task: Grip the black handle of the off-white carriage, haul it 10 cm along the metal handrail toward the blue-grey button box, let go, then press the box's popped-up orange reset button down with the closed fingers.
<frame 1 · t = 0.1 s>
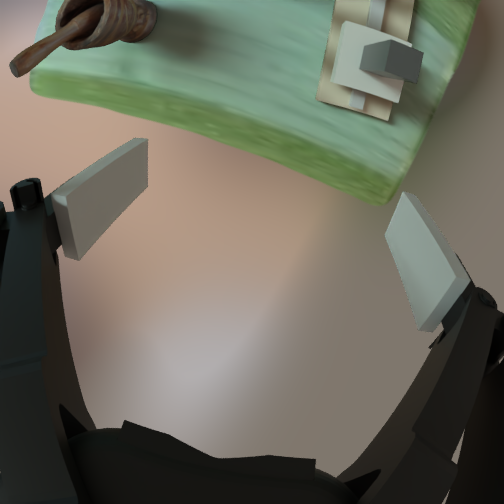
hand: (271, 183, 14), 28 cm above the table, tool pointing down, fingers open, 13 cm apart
rail board: (367, 30, 28), on the table
carriage: (380, 61, 23), point 10 cm above the table, slide at 0.0 cm
mortar and pestle: (130, 30, 31), on the table
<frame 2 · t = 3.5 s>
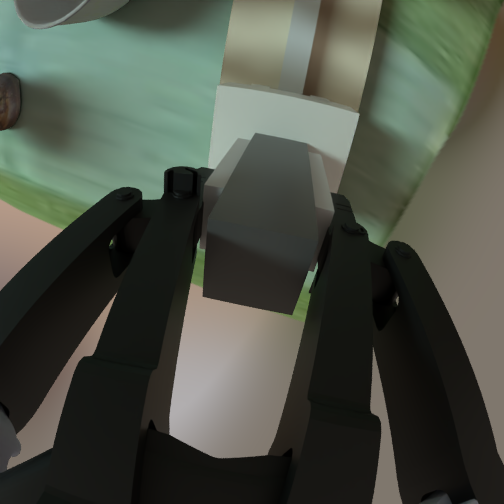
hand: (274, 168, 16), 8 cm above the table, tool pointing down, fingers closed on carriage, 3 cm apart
rail board: (293, 76, 19), on the table
carriage: (272, 179, 14), point 10 cm above the table, slide at 0.0 cm, touching gripper
mortar and pestle: (4, 112, 22), on the table
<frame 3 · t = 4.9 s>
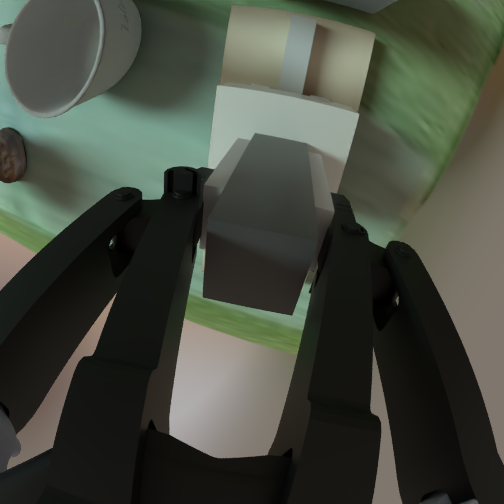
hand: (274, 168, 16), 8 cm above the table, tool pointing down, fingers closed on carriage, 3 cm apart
teacup: (94, 36, 18), on the table
rail board: (276, 158, 23), on the table
carriage: (272, 179, 14), point 10 cm above the table, slide at 7.0 cm, touching gripper
mortar and pestle: (10, 164, 26), on the table
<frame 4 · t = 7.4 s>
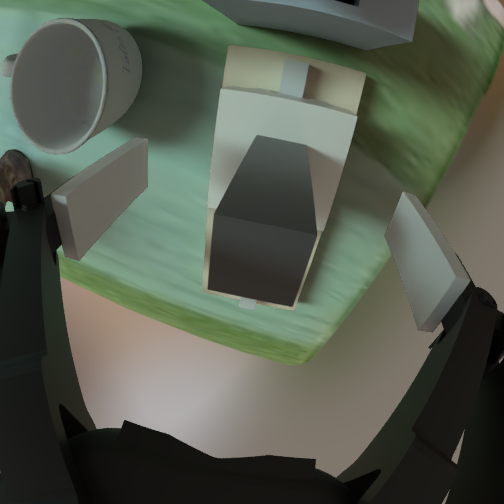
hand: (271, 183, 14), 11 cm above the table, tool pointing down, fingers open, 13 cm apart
teacup: (96, 67, 20), on the table
rail board: (271, 190, 26), on the table
carriage: (273, 179, 15), point 10 cm above the table, slide at 10.0 cm
mortar and pestle: (17, 184, 29), on the table
blue-grey button box: (308, 1, 16), on the table
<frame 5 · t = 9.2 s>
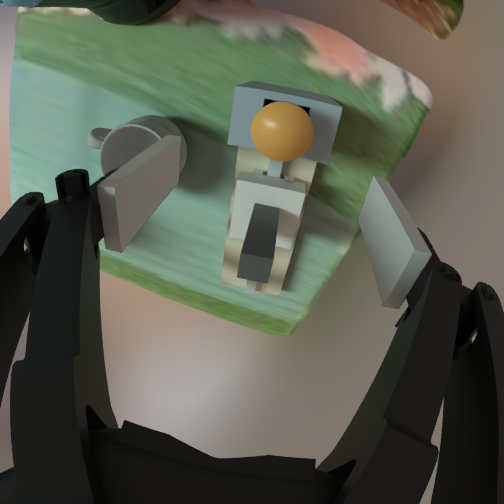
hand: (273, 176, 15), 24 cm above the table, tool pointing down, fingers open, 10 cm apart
teacup: (151, 140, 38), on the table
rail board: (263, 222, 44), on the table
carriage: (262, 228, 33), point 10 cm above the table, slide at 10.0 cm
reset button: (283, 124, 26), point 10 cm above the table, slide at 0.0 cm
blue-grey button box: (286, 110, 34), on the table
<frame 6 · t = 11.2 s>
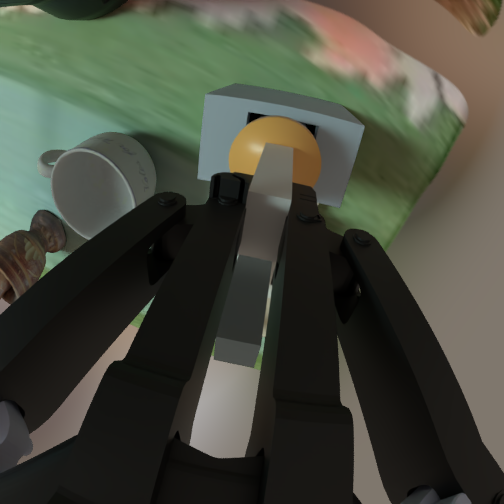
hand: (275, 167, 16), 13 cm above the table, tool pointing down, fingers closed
teacup: (116, 161, 31), on the table
carriage: (250, 284, 25), point 10 cm above the table, slide at 10.0 cm
mortar and pestle: (50, 235, 39), on the table
reset button: (278, 146, 19), point 9 cm above the table, slide at 1.0 cm, touching gripper
blue-grey button box: (282, 121, 26), on the table
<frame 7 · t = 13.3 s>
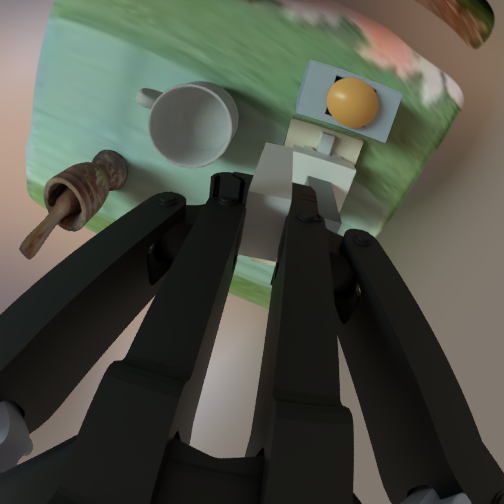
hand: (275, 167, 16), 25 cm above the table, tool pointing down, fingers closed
teacup: (198, 108, 38), on the table
rail board: (302, 200, 44), on the table
carriage: (316, 199, 33), point 10 cm above the table, slide at 10.0 cm
mortar and pestle: (107, 176, 46), on the table
reset button: (347, 99, 27), point 8 cm above the table, slide at 2.3 cm
blue-grey button box: (337, 93, 34), on the table
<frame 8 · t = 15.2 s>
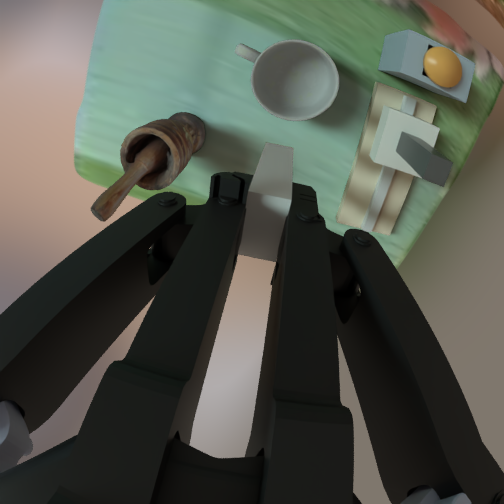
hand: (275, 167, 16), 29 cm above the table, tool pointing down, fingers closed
teacup: (286, 71, 37), on the table
rail board: (384, 161, 42), on the table
carriage: (415, 150, 31), point 10 cm above the table, slide at 10.0 cm
mortar and pestle: (180, 141, 45), on the table
reset button: (432, 65, 26), point 8 cm above the table, slide at 2.3 cm
blue-grey button box: (411, 64, 32), on the table
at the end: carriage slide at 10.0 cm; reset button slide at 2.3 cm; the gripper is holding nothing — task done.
